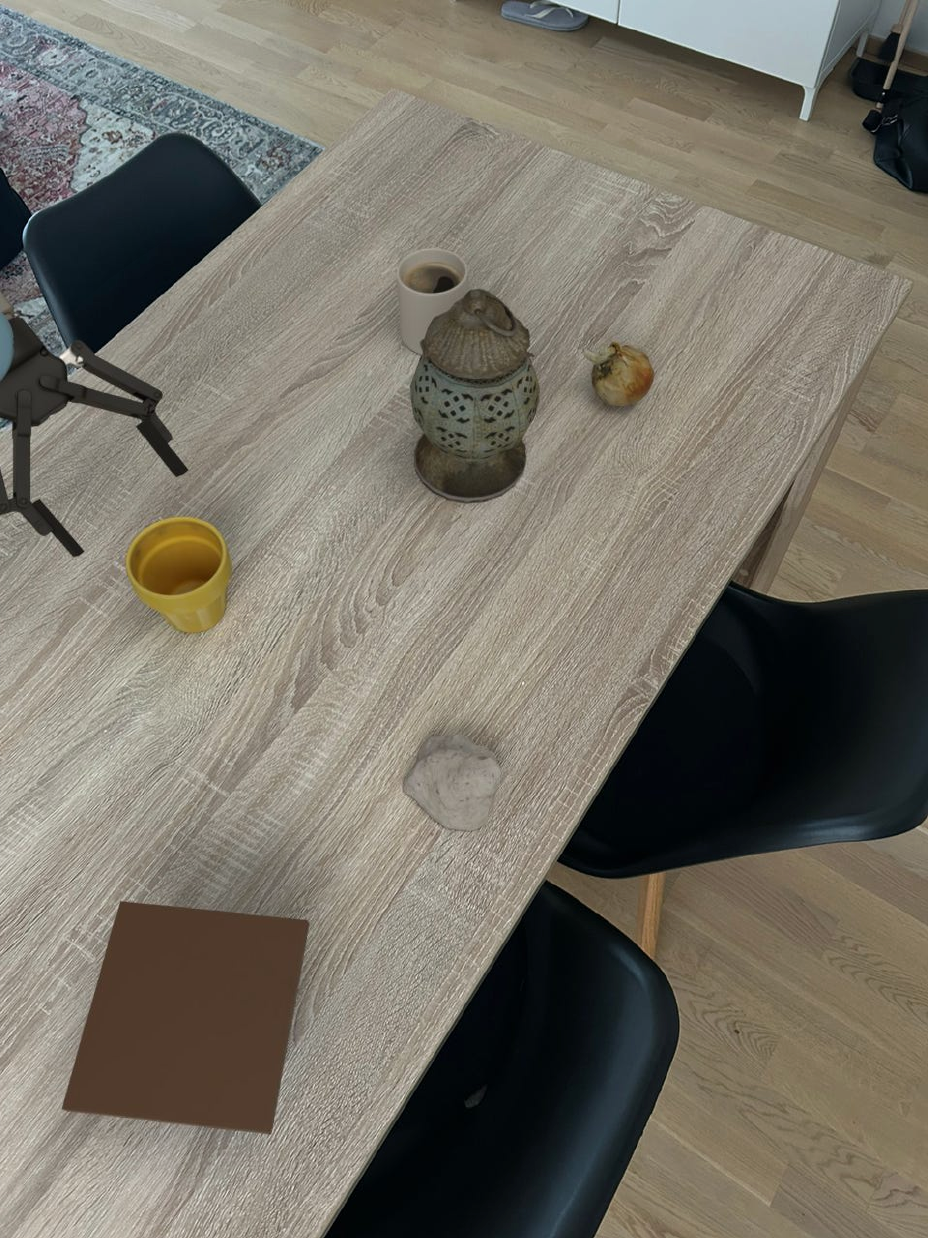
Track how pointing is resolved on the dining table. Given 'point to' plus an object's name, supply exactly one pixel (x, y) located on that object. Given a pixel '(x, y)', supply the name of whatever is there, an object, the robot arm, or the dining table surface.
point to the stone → (454, 781)
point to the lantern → (473, 400)
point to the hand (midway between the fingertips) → (132, 513)
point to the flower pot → (181, 571)
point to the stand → (190, 1018)
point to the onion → (620, 374)
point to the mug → (427, 290)
